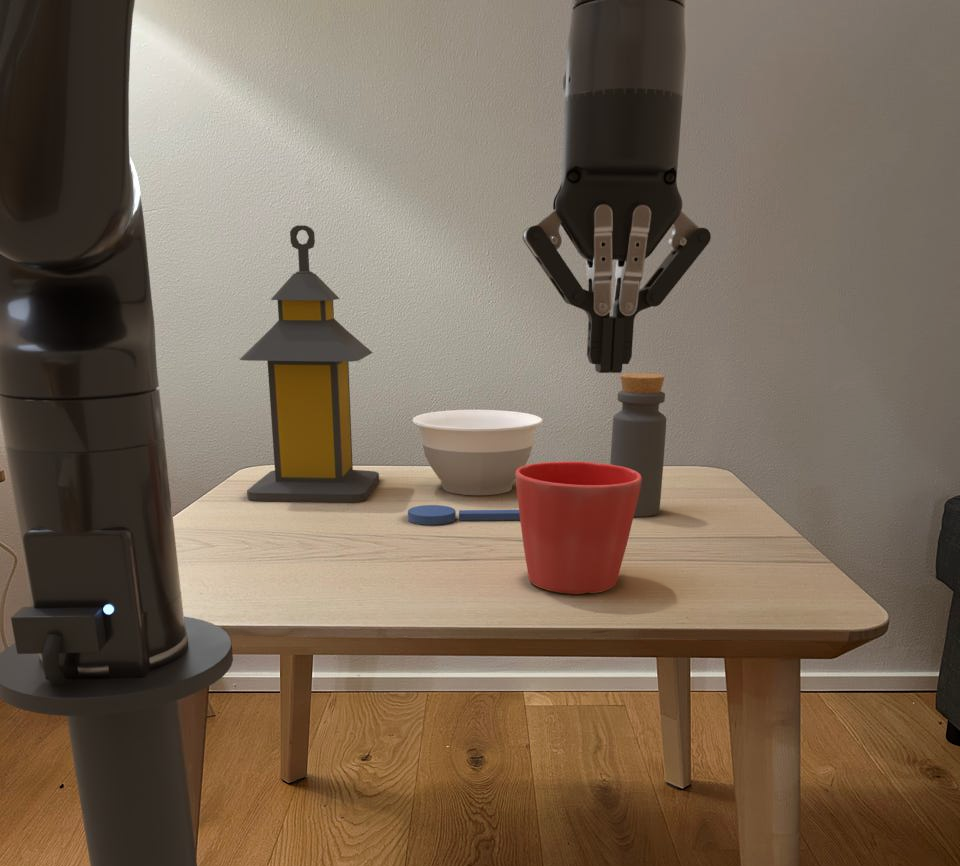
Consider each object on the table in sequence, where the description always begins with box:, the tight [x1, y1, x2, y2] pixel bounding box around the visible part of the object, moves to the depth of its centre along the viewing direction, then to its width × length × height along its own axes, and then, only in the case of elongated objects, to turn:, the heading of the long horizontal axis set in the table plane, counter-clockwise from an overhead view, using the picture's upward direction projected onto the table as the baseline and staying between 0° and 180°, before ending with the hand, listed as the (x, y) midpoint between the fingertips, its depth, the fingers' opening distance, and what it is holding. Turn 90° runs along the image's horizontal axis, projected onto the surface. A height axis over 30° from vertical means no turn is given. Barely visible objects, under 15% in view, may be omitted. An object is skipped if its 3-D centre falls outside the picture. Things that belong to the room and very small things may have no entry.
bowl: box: [411, 409, 544, 496], centre depth 120 cm, size 16×16×9 cm
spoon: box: [407, 504, 520, 526], centre depth 106 cm, size 18×5×1 cm, turn 94°
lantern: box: [239, 224, 380, 503], centre depth 115 cm, size 14×14×30 cm
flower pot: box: [515, 460, 642, 595], centre depth 84 cm, size 11×11×10 cm
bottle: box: [609, 372, 667, 518], centre depth 108 cm, size 6×6×15 cm
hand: (608, 371), depth 68 cm, fingers closed
